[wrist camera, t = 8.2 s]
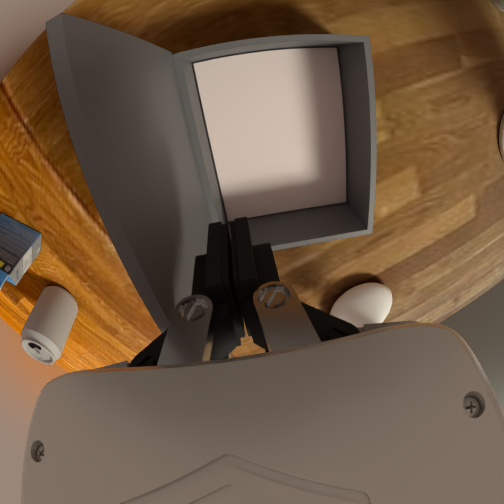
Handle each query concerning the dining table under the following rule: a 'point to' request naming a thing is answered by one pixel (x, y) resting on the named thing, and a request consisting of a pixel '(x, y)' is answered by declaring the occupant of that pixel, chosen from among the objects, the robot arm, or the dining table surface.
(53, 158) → the dining table surface
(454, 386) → the robot arm
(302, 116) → the box
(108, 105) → the mailer lid
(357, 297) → the flower in vase
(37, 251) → the label tape box
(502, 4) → the coffee cup
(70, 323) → the can
